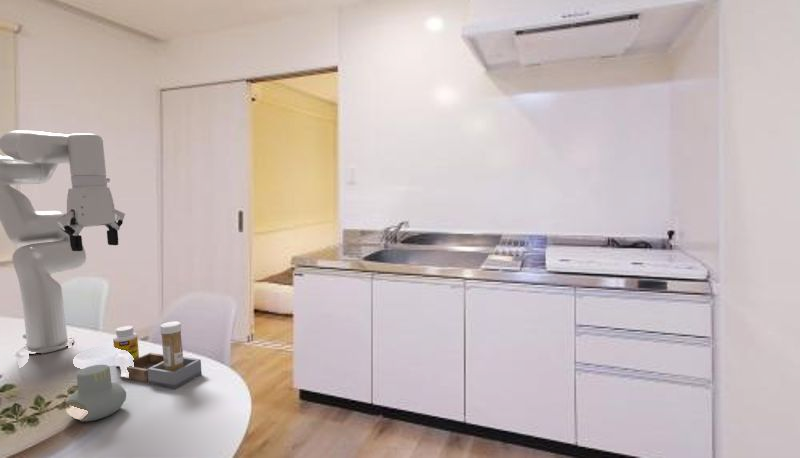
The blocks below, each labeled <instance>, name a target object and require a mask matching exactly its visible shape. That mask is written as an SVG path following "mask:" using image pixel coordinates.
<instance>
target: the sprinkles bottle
mask: <svg viewBox="0 0 800 458" xmlns="http://www.w3.org/2000/svg"><path fill="white" fill-rule="evenodd" d="M159 328H160V329H159V330H160V334H161V341H162V355H163V358H164V365H165V370H168V371H176V370H178V369H180V368H182V367H184V366H183V365H184V364H183V357H184V351H183V342H182V333H181V332H182V323H181V322H180V321H176V320H175V321H167V322H165V323H162V324H160V327H159Z"/></svg>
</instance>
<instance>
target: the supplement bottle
mask: <svg viewBox="0 0 800 458" xmlns="http://www.w3.org/2000/svg"><path fill="white" fill-rule="evenodd" d="M138 339H139V338H138V333H136V332H135V331H134V327H133V325H124V326H120V327H117V328H116V329H115V336H114V337H113V348H114V347H115V348H118V349H121V350H126V351H128V352H129V353H130V354H131V355H132V356H133V358H134V360H135V359H137V358H139V357H140V355H139V354H140V353H139V340H138Z"/></svg>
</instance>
